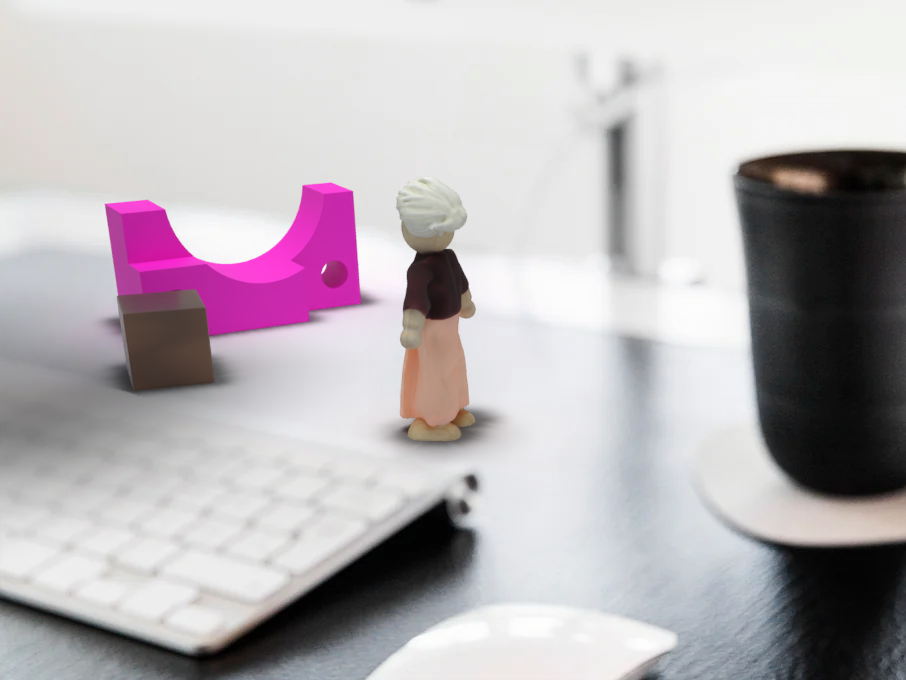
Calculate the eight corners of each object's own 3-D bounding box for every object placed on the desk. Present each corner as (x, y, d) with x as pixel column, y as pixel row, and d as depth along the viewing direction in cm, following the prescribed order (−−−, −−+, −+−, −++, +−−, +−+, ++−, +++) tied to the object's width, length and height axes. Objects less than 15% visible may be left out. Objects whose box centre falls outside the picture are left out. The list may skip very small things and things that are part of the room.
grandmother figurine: (417, 406, 76) (404, 163, 71) (487, 409, 76) (480, 165, 70) (383, 456, 69) (366, 191, 64) (460, 459, 69) (450, 194, 63)
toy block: (149, 345, 86) (132, 221, 83) (122, 322, 91) (104, 203, 88) (376, 313, 94) (368, 197, 90) (339, 293, 98) (330, 182, 95)
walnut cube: (134, 392, 78) (122, 314, 76) (127, 370, 82) (116, 295, 80) (215, 384, 80) (206, 307, 78) (204, 363, 83) (196, 288, 81)
